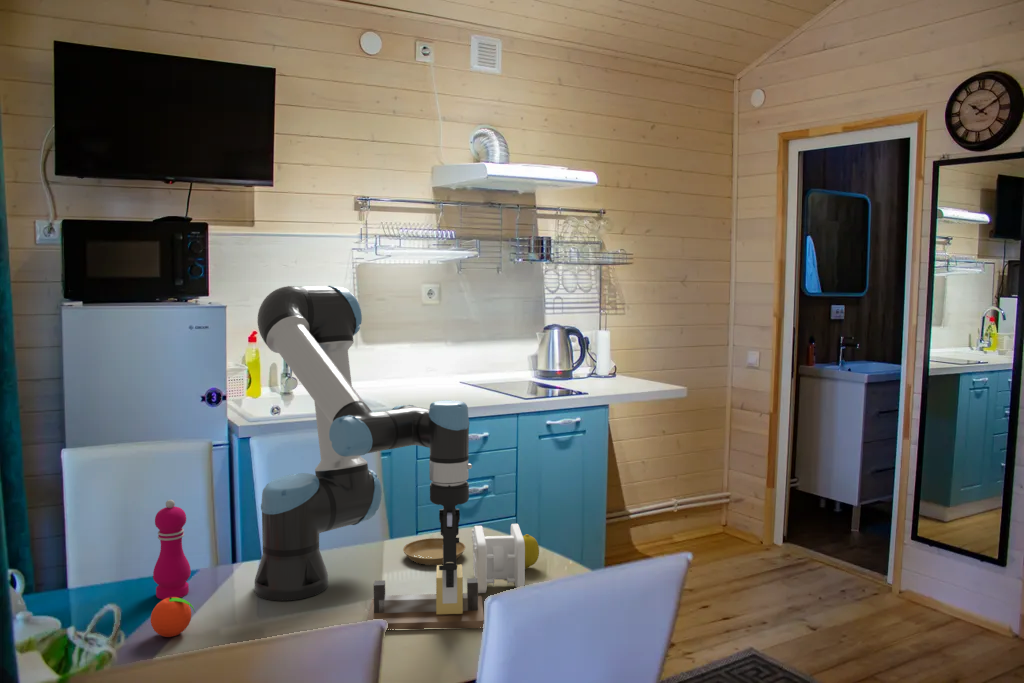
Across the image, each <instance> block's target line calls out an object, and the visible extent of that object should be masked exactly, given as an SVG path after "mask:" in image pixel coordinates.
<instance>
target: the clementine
mask: <svg viewBox="0 0 1024 683" xmlns="http://www.w3.org/2000/svg"><path fill="white" fill-rule="evenodd" d="M192 610H193V611H194V612H196V611H195V608H194V606H193V605H192V603H190V602H189V601H188V600H186V599H184V598H182V597H180V598H178V597H169V598H166V599H161V600H160V601H159V602H158V603H157V604H156V605H155V606H154V608H153V610H152V611H151V614H150V625H151V627H152V629H153V631H154V632H155V633H156V634H157V635H160V636H162V637H164V638H165V637H166V638H171V637H176V636H178V635H180V634H182V633H183V632H185V630H186V629H187V628H188V626H189V625H190V623H191V620H192Z"/></svg>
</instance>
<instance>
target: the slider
mask: <svg viewBox="0 0 1024 683" xmlns="http://www.w3.org/2000/svg"><path fill="white" fill-rule="evenodd" d="M456 565H457V603H444V604H443V579H442V570H439V566H442V565H436V576H435V577H436V580H435V581H436V582H435V584H436V585H435V586H436V587H435V588H436V590H435V591H436V593H435V594H436V614H463V593H464V591H463V589H464V588H463V587H464V584H463V582H464V579H463V578H464V577H463V564H456Z"/></svg>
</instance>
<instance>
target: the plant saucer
mask: <svg viewBox="0 0 1024 683" xmlns="http://www.w3.org/2000/svg"><path fill="white" fill-rule="evenodd" d="M465 550H466V545H465V543H463V542H462V541H459V543H456V560H457V559H458V558H460V556H461V555H462V554H463V553H464V552H465ZM402 551H403V552H404V554H405V555H406V557H407V558H408V559H409V560H411V561H412V562H413V561H414V562H413V563H415V562H416V563H415V564H418V563H419V564H418V565H421V564H425V565H424V566H437V565H442V564H443V537H432V538H431V537H430V538H422V539H417V540H414V541H410V542H408V543H407V544H406V545H404V547H403V549H402ZM414 555H415V556H417V557H414ZM418 555H420V556H422V557H424V558H422V557H421V558H419V557H420V556H418ZM428 556H429V557H428ZM426 557H427V558H426ZM430 557H432V558H430Z"/></svg>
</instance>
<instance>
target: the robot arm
mask: <svg viewBox="0 0 1024 683" xmlns="http://www.w3.org/2000/svg"><path fill="white" fill-rule="evenodd" d="M362 316H363V315H362V309H361V307H360V303H359V301H358V299H357V297H356V296H355V295H354V294H353V293H352V291H350V290H349V289H348V288H344V287H341V286H332V285H311V286H310V285H309V286H295V285H287V286H283V287H279V288H277V289H275V290H273V291H271V292H270V293H269V294H268V295H267V296H265V298H264V299H263V301H262V302H261V305H260V306H259V309H258V312H257V320H256V322H257V327H258V332H259V334H260V337H261V339H262V340H263V343H265V345H266V346H267V348H268V349H269V350H270V351H271V352H273V353H277V354H279V355H280V357H281V358H282V360H284V362H285V363H286V365H287V366H288V367H289V369H290V370H291V371H292V373H293V374H294V375H295V377H296V378H297V379H298V381H299V382H300V383H301V385H302V386H303V387H304V389H305V390H306V392H307V394H309V396H310V397H311V398H312V399H313V401H314V408H315V409H314V411H315V418H316V419H315V420H316V425H317V426H316V429H317V435H318V445H319V455H320V460H319V461H320V462H319V463H318V464H317V465H316V467H315V469H314V472H315V474H314V473H313V474H312V473H306V472H304V473H303V472H301V473H297V474H293V473H291V474H288V475H283V476H280V477H278V478H275V479H273V480H271V481H269V482H268V483H266V485H265V486H264V488H263V489H262V492H261V493H262V494H261V504H260V511H261V529H262V530H261V532H262V535H261V536H262V541H261V542H262V554H261V555H262V556H261V558H260V561H259V562H260V563H259V565H258V568H257V570H256V574H255V577H254V593H255V595H256V596H258V597H259V598H261V599H265V600H270V601H277V602H278V601H279V602H280V601H281V602H283V601H286V602H287V601H294V600H295V601H296V600H302V599H306V598H310V597H313V596H315V595H318V594H320V593H322V592H324V591H325V590H326V589H327V588H328V587H329V586H328V585H329V574H328V571H327V570H328V569H327V568H326V565H325V562H324V559H323V556H322V554H321V550H320V534H322V533H326V532H329V531H333V530H337V529H340V528H341V529H342V528H344V527H347V526H356V525H359V524H360V523H363V522H365V521H369V520H370V519H372V518H373V517H374V516H375V515H376V512H377V511H378V510H379V508H380V505H381V502H382V484H381V481H380V479H379V478H378V475H377V473H376V472H375V471H374V470H372V469H370V468H369V466H368V461H367V460H366V459H365V458H363V457H362V456H364V455H367V454H373V453H377V452H381V451H387V450H395V449H399V448H403V447H404V448H405V447H410V446H420V447H422V448H423V447H425V448H427V449H428V448H429V462H428V463H429V464H428V465H429V470H428V471H429V480H430V481H431V482H430V484H429V501H430V502H431V503H432V504H433V505H437V506H442V507H443V508H442V509H441V508H440V509H438V510H439V514H438V516H439V518H438V520H439V524H440V535H441V536H442V538H443V565H442V566H439V570H442V579H443V604H444V603H457V565H458V564H457V559H456V543H459V542H460V537H457V536H459V532H460V531H459V530H460V529H459V528H460V527H459V526H460V525H459V524H460V522H461V518H460V517H461V513H460V508H456V506H458V505H463V504H465V503H467V502H468V501H469V498H470V484H469V482H468V481H467V480H469V470H471V469H472V468H473V465H472V464H471V463H469V458H470V457H469V456H470V454H469V452H470V451H469V449H470V448H469V441H470V438H469V437H470V436H469V435H470V434H469V431H470V421H469V420H470V419H469V408H468V405H467V403H466V402H464V401H462V400H451V399H450V400H447V399H446V400H436V401H433V402H431V403H430V404H429V408H427V407H420V406H416V405H413V404H407V405H405V404H403V405H402V404H400V405H399V404H398V405H396V406H394V407H392V409H390V410H382V411H381V410H380V411H372V410H371V408H370V407H369V406H368V405H367V404H366V403H365V401H364V400H363V399H362V397H361V396H360V395H359V394H358V393H357V392H356V389H354V387H353V385H352V376H351V368H350V367H351V366H350V358H349V349H350V348H351V347H352V346H353V344H354V342H355V341H354V336H356V335H357V334H358V332H360V330H361V329H360V328H361V326H360V325H361V324H362V323H363V322H362V321H363V320H362V319H363V318H362Z"/></svg>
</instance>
